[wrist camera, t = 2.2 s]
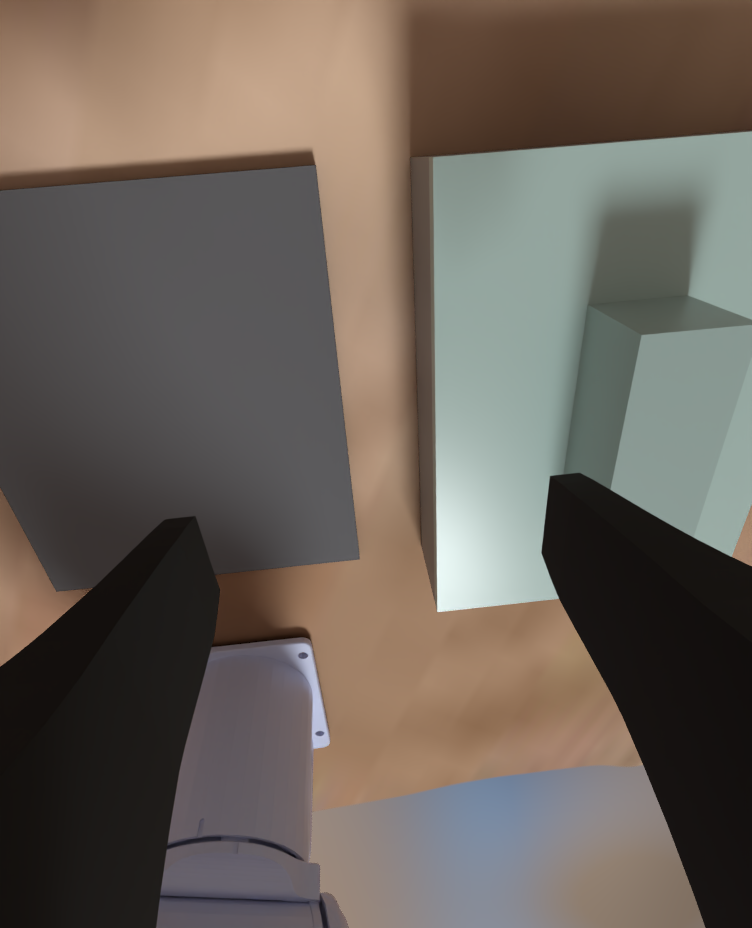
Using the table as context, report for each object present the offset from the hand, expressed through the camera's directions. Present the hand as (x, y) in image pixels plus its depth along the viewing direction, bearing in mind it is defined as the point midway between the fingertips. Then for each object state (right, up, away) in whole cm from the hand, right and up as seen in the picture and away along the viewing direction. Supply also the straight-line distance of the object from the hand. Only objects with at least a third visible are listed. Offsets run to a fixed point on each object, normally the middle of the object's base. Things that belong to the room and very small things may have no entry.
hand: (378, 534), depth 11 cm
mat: (-8, +3, +9) cm, 13 cm away
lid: (+8, +3, +7) cm, 11 cm away
